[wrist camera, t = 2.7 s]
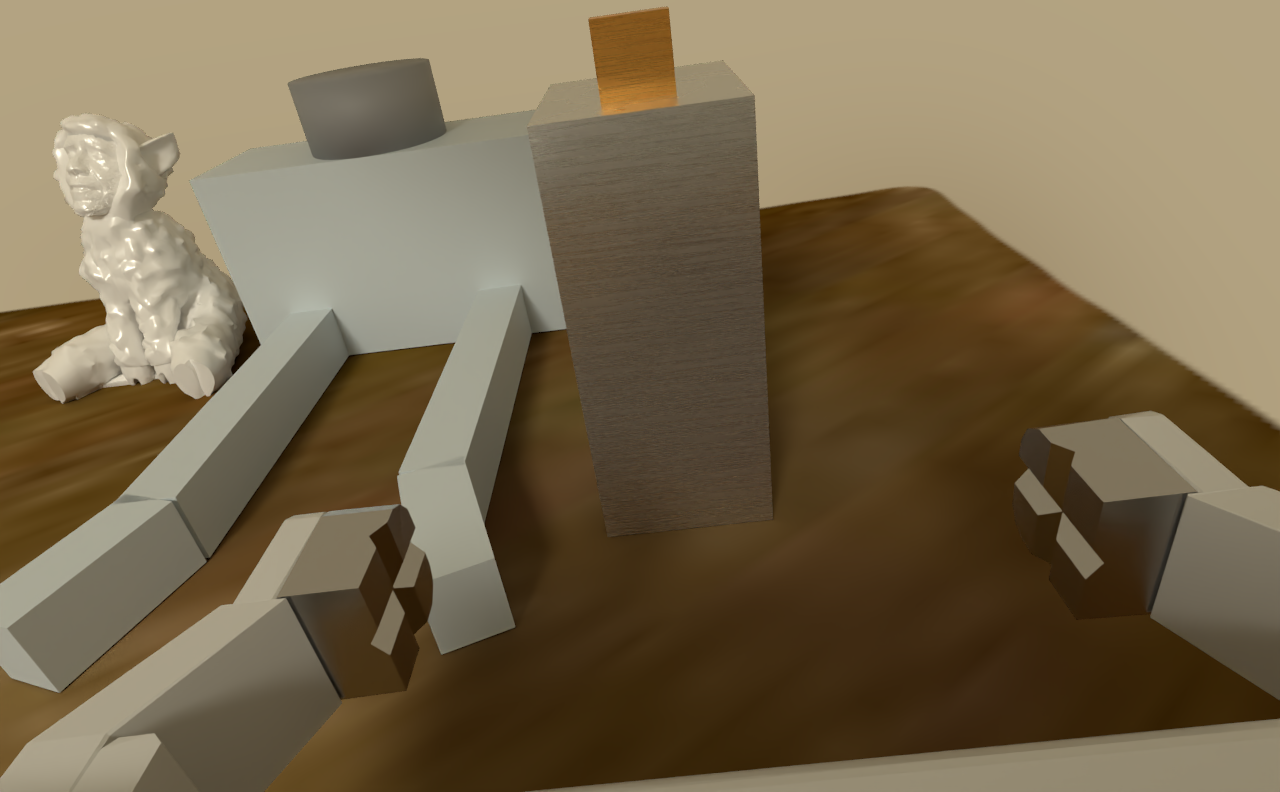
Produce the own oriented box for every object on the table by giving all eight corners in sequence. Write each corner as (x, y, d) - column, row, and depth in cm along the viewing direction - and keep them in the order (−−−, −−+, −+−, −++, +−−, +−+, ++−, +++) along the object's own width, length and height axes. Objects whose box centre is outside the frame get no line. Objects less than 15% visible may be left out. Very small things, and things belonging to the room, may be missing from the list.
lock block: (607, 537, 22) (509, 36, 15) (611, 427, 27) (538, 15, 20) (773, 519, 22) (750, 1, 15) (745, 412, 27) (718, -11, 20)
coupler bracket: (-22, 700, 20) (-399, 288, 14) (314, 313, 41) (225, 84, 35) (527, 646, 19) (389, 183, 13) (579, 280, 40) (536, 40, 34)
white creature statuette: (37, 408, 35) (-127, 153, 29) (159, 328, 42) (47, 109, 36) (213, 400, 34) (78, 128, 28) (308, 318, 41) (218, 87, 35)
